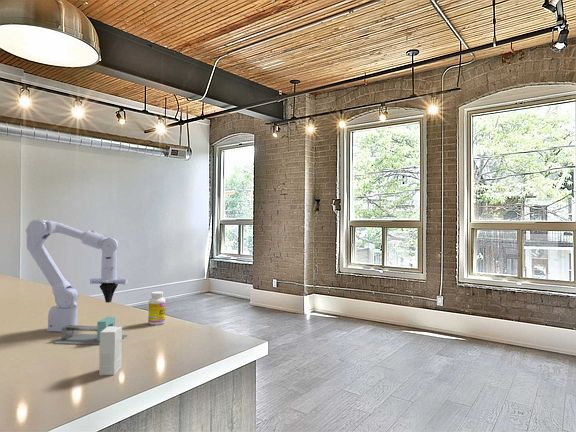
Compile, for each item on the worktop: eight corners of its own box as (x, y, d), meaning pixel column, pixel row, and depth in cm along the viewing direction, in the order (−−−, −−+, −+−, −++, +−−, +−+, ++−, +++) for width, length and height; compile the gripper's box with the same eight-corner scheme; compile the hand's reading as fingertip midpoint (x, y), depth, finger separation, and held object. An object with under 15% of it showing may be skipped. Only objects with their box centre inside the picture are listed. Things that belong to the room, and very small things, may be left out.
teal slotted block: (96, 341, 135) (97, 321, 136) (106, 335, 142) (107, 316, 142) (105, 341, 135) (105, 321, 135) (114, 335, 142) (115, 316, 142)
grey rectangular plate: (53, 343, 134) (53, 342, 134) (72, 334, 145) (72, 333, 145) (112, 345, 133) (112, 344, 133) (127, 335, 144) (127, 335, 144)
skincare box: (106, 367, 113) (107, 326, 113) (121, 367, 114) (122, 326, 114) (98, 375, 107) (99, 332, 107) (114, 375, 108) (115, 331, 108)
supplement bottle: (159, 325, 159) (160, 294, 159) (145, 324, 160) (145, 293, 160) (168, 321, 165) (168, 291, 165) (153, 320, 166) (154, 290, 167)
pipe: (61, 340, 137) (61, 326, 137) (68, 337, 141) (68, 323, 141) (116, 342, 137) (116, 327, 137) (121, 338, 141) (121, 324, 141)
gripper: (85, 268, 152) (85, 303, 152) (122, 269, 152) (121, 304, 151) (95, 266, 159) (94, 300, 159) (130, 267, 159) (129, 300, 158)
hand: (108, 302), depth 156 cm, fingers closed
